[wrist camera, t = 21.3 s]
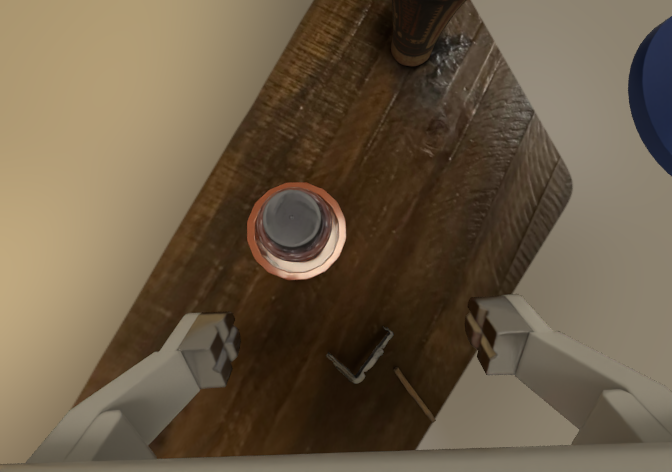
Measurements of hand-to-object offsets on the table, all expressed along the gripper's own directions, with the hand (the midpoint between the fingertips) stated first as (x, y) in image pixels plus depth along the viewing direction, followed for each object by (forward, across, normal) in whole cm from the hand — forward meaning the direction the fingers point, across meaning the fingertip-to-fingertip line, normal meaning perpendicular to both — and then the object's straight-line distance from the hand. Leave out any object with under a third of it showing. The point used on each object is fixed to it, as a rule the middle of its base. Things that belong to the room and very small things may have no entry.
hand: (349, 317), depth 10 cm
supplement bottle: (+19, +5, +7) cm, 21 cm away
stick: (+12, -7, +21) cm, 25 cm away
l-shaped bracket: (+14, 0, +15) cm, 21 cm away
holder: (+20, +5, +7) cm, 21 cm away
